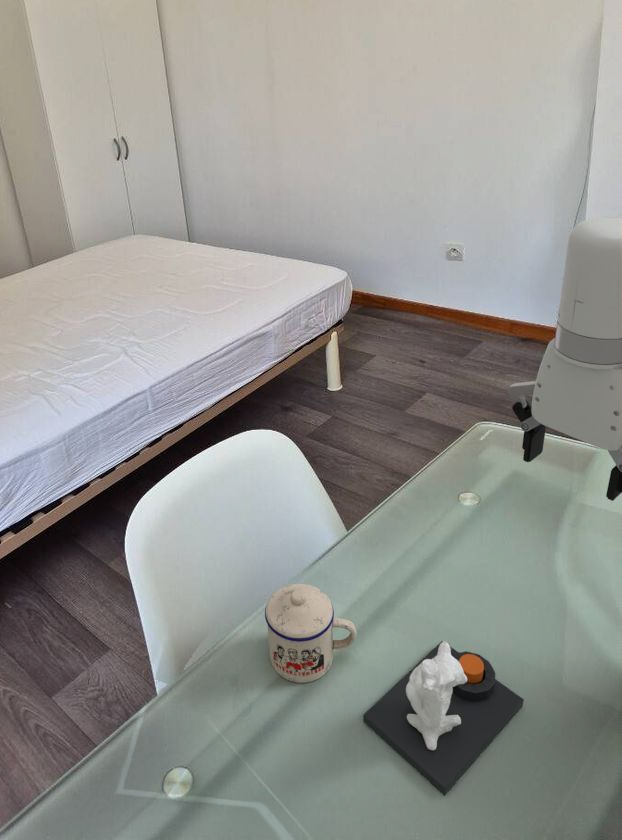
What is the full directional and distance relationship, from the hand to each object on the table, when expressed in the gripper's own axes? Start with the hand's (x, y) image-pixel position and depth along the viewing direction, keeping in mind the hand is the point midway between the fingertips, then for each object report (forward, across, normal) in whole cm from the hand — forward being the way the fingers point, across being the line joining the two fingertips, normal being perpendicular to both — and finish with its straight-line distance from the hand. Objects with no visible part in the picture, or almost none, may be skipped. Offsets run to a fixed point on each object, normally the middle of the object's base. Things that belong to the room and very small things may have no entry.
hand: (572, 474), depth 78 cm
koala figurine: (+29, +4, +19) cm, 35 cm away
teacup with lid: (+31, +21, +22) cm, 43 cm away
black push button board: (+30, +4, +16) cm, 34 cm away
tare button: (+28, +4, +11) cm, 30 cm away
